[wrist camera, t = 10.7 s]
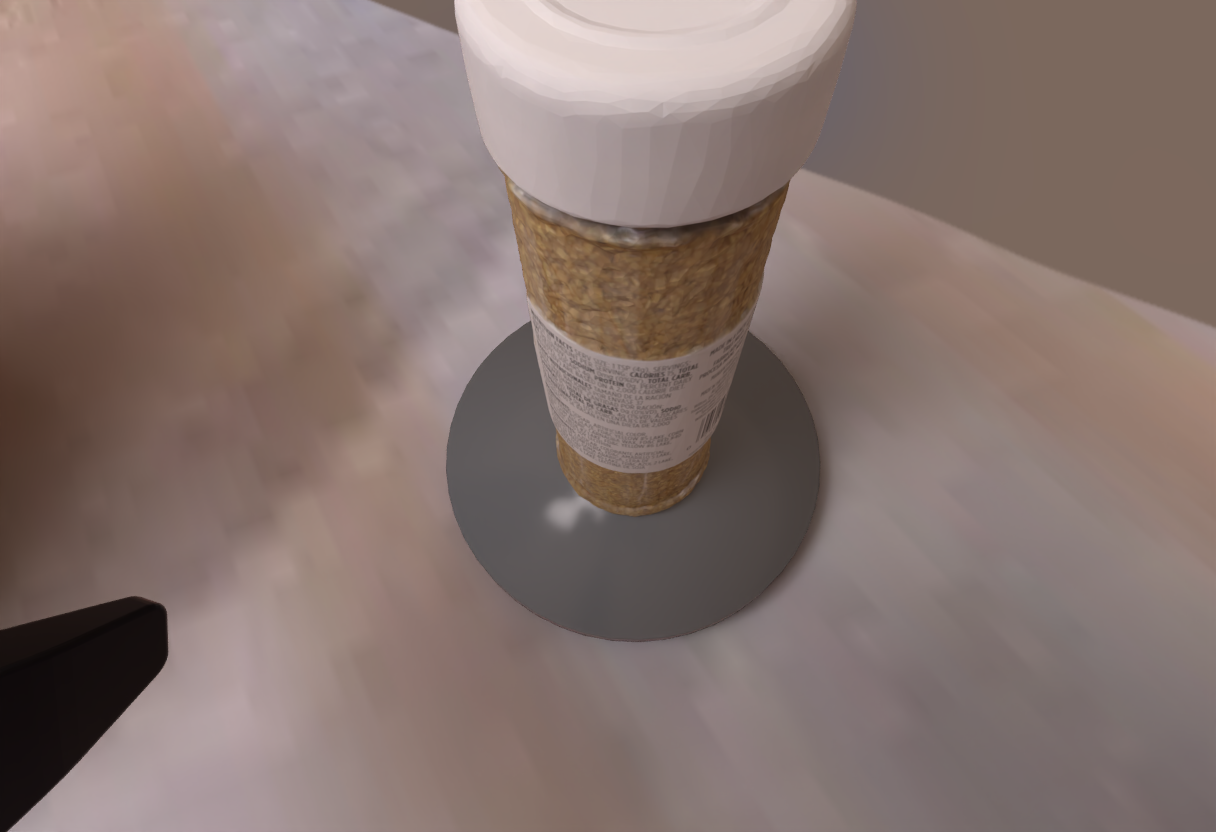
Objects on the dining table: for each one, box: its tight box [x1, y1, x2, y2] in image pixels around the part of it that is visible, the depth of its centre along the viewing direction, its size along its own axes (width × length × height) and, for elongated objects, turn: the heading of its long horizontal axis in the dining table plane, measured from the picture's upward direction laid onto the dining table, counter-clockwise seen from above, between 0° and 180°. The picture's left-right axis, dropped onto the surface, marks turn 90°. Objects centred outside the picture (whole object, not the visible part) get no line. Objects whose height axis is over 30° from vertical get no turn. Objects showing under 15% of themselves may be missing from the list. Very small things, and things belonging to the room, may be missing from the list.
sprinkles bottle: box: [454, 0, 857, 517], centre depth 13 cm, size 5×5×14 cm
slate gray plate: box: [446, 321, 820, 642], centre depth 19 cm, size 11×11×1 cm
